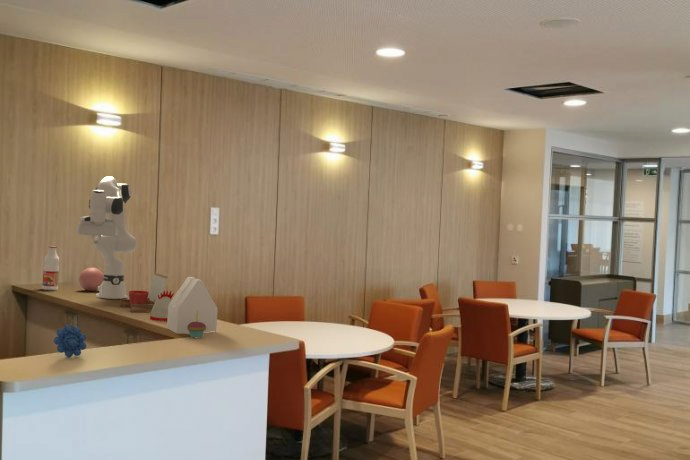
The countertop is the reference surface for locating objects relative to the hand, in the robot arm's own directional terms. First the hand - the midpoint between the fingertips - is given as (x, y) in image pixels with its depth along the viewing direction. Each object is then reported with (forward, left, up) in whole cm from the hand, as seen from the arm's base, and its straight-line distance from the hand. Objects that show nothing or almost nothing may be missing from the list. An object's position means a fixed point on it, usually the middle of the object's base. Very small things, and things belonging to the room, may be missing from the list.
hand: (95, 243), depth 381 cm
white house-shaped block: (+84, +27, -35) cm, 95 cm away
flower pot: (+13, +22, -35) cm, 44 cm away
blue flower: (+132, -37, -35) cm, 142 cm away
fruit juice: (-76, -9, -35) cm, 84 cm away
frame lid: (+14, +32, -23) cm, 42 cm away
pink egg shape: (-68, +17, -35) cm, 78 cm away
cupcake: (+102, +23, -35) cm, 110 cm away
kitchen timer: (+50, +25, -35) cm, 66 cm away
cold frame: (+14, +23, -35) cm, 44 cm away
